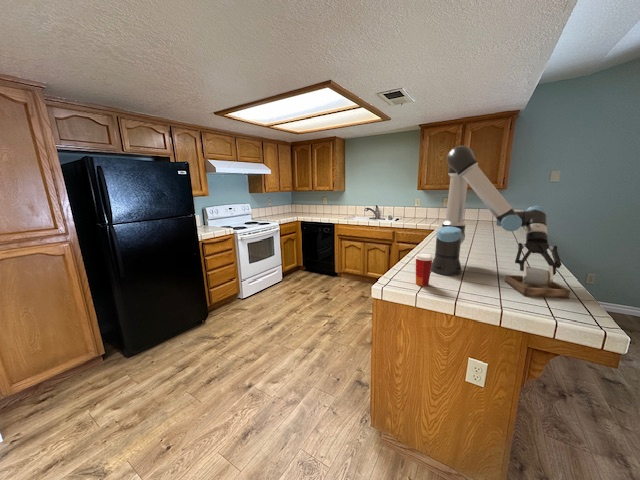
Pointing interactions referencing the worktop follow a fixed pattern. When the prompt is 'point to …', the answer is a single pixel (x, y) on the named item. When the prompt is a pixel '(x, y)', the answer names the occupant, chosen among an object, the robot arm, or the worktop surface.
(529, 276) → the ceramic mug
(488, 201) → the robot arm
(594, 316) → the worktop surface
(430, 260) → the paper cup
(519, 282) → the tray
